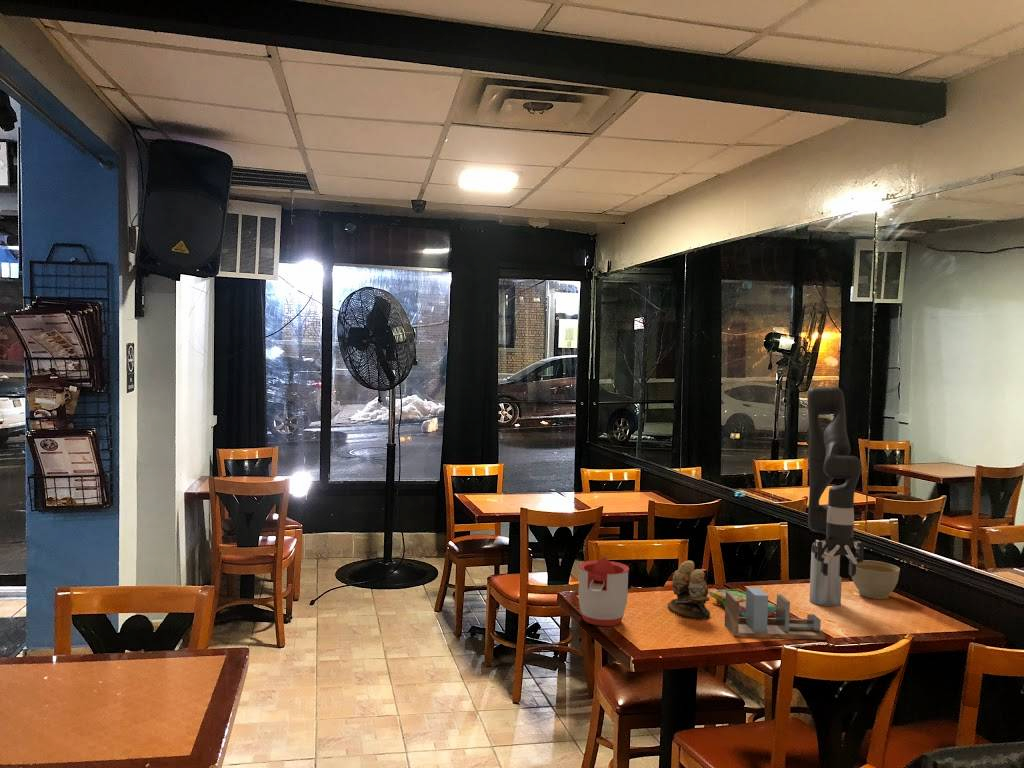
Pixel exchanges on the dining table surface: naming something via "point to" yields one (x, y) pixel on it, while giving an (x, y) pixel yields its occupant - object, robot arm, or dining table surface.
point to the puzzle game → (741, 596)
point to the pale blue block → (756, 609)
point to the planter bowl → (875, 579)
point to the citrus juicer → (603, 591)
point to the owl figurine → (689, 592)
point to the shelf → (773, 630)
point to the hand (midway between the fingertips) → (838, 575)
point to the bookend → (783, 617)
